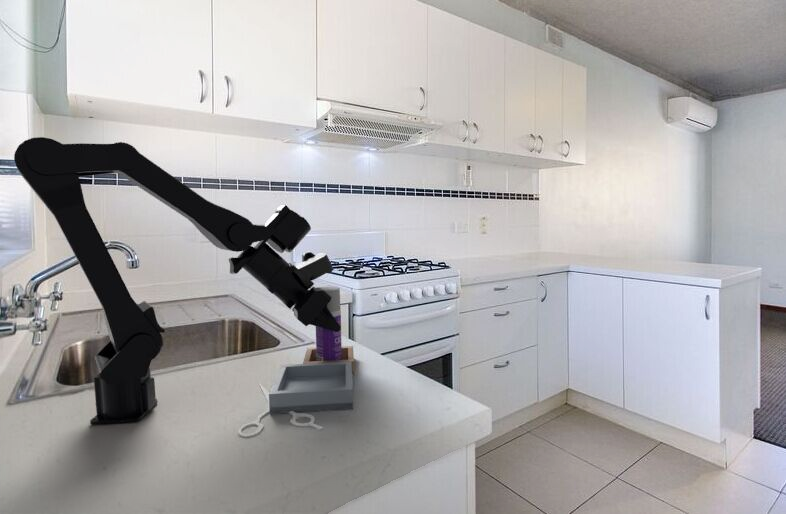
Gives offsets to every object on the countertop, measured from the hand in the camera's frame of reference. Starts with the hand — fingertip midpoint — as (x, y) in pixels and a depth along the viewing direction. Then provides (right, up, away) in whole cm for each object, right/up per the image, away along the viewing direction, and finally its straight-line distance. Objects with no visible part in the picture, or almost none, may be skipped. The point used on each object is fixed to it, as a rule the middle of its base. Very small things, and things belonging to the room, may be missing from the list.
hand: (335, 326), depth 80 cm
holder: (-1, -8, 0) cm, 8 cm away
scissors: (-7, -10, -15) cm, 20 cm away
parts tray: (-2, -9, -12) cm, 15 cm away
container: (-1, -8, 0) cm, 8 cm away
